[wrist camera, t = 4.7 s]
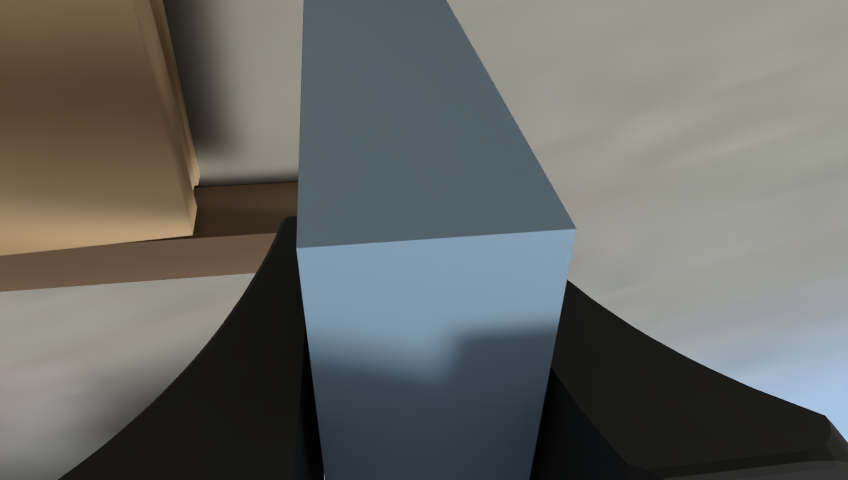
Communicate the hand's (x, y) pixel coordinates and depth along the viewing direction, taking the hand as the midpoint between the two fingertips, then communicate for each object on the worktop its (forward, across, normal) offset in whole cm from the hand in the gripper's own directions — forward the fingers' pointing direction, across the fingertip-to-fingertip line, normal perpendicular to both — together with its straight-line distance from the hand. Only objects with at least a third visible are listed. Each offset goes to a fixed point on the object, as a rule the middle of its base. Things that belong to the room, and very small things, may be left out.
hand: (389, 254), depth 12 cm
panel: (+4, 0, 0) cm, 4 cm away
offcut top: (+8, +8, 0) cm, 12 cm away
